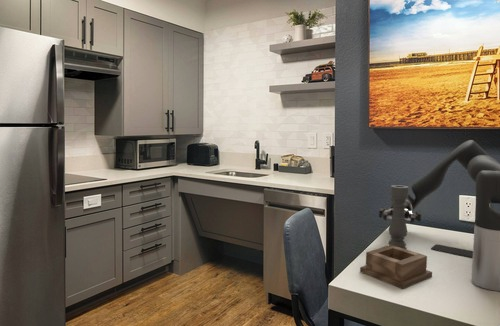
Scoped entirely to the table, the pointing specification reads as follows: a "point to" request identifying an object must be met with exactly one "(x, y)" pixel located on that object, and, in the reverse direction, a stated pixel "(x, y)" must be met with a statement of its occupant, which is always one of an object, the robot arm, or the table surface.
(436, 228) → the table surface
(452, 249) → the phone
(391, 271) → the socket block
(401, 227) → the candle holder
